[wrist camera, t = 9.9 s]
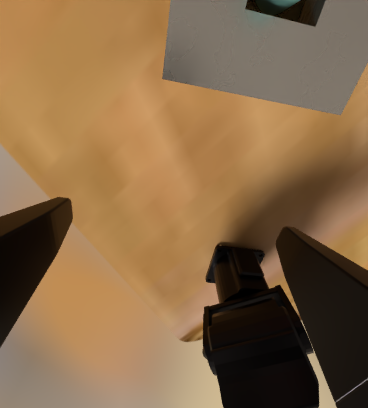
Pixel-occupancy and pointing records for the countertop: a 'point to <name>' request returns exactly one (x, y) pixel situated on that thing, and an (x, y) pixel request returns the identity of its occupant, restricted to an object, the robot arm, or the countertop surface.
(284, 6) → the long peg
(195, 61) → the socket
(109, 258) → the countertop surface
